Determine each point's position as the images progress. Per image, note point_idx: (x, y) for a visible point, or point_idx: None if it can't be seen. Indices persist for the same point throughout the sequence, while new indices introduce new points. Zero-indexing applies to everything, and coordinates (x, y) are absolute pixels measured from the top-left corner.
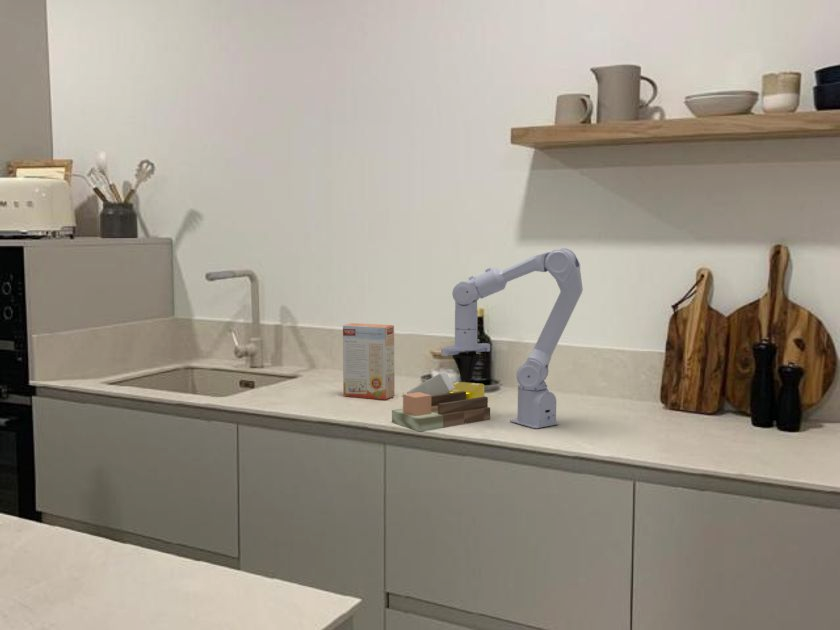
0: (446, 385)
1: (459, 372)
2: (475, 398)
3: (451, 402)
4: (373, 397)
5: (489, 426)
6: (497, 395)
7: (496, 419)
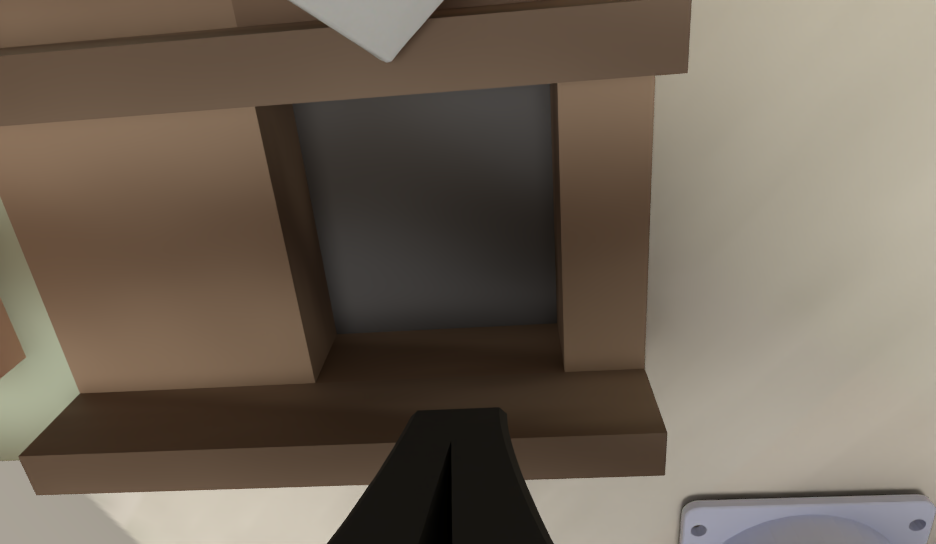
0: (326, 24)
1: (353, 511)
2: None
3: (175, 477)
4: None
5: None
6: None
7: (664, 397)
